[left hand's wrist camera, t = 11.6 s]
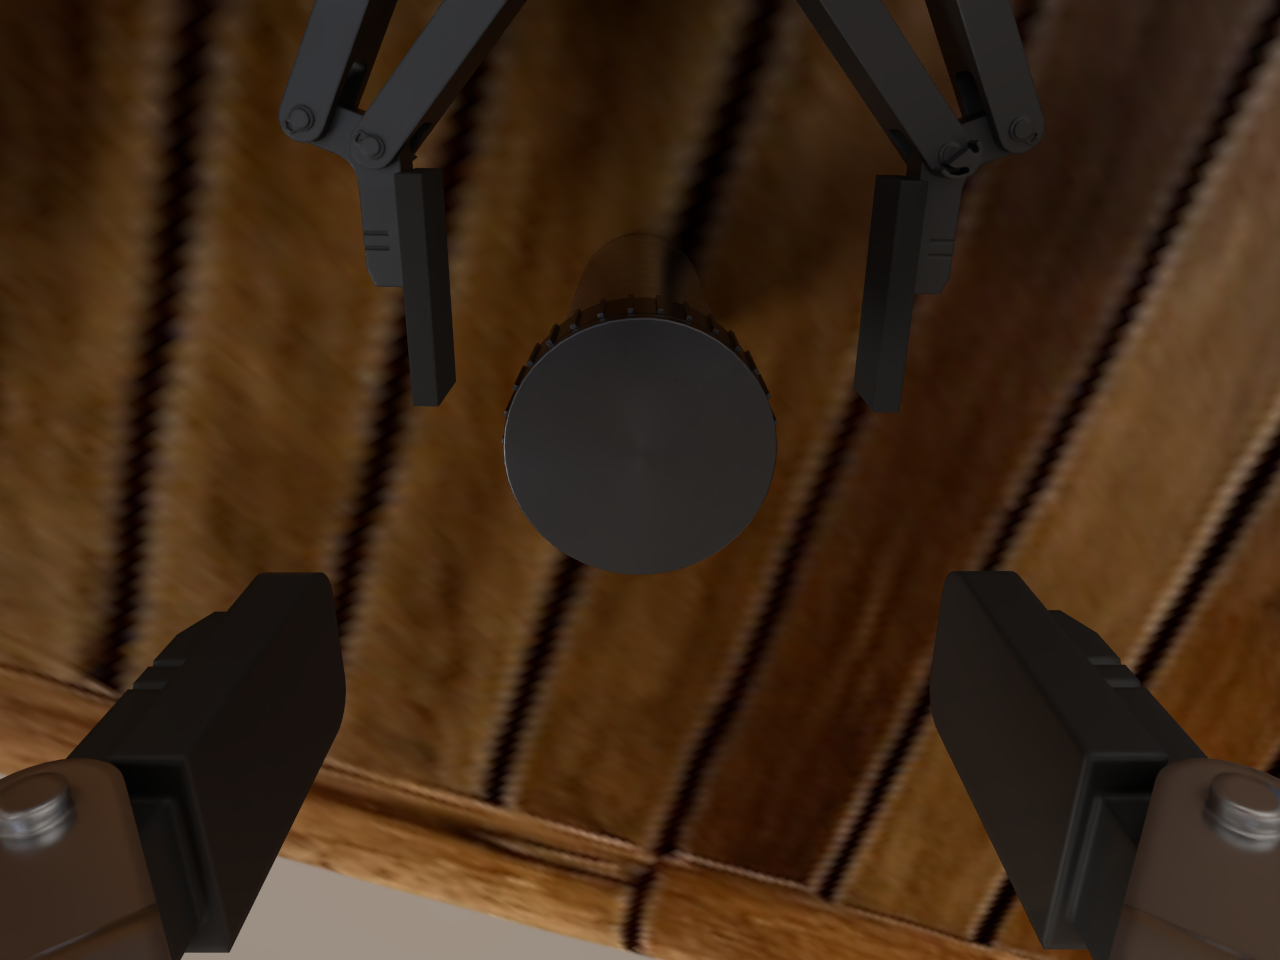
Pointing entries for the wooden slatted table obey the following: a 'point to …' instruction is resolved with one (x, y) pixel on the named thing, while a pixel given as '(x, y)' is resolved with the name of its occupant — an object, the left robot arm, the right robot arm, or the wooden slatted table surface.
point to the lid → (639, 436)
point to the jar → (639, 274)
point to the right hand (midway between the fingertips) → (655, 397)
